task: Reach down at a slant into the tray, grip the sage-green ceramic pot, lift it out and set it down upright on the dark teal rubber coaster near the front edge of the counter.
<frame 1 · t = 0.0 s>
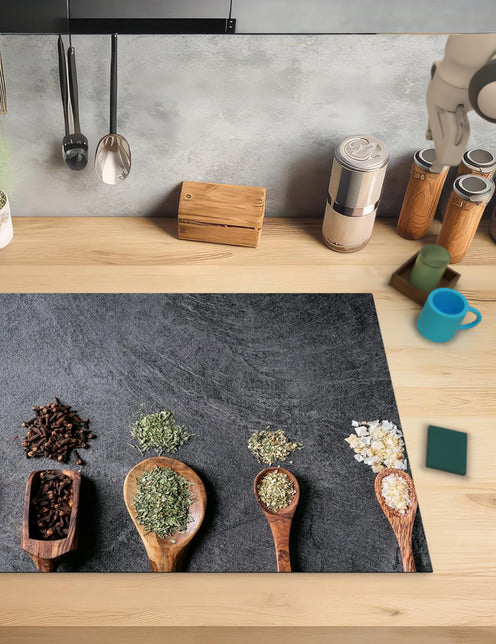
hand: (432, 153, 140), 33 cm above the counter, tool pointing down, fingers open, 8 cm apart
mug: (444, 329, 157), on the counter
tray: (421, 285, 164), on the counter
green pot: (422, 283, 164), point 1 cm above the counter, touching tray
mat: (446, 451, 139), on the counter
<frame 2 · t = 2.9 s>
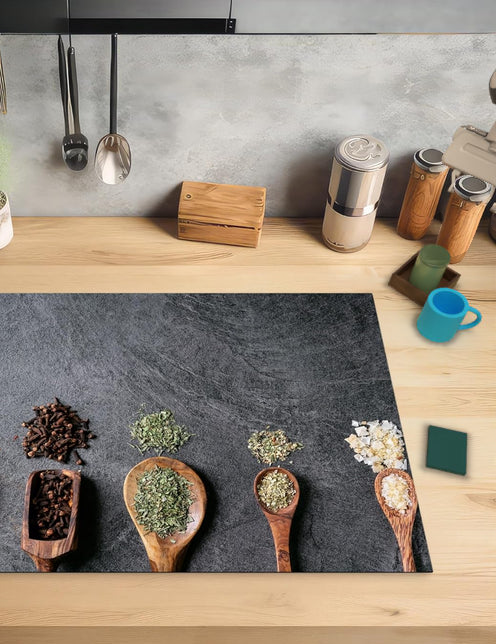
hand: (471, 202, 156), 16 cm above the counter, tool tilted 45°, fingers open, 8 cm apart
nothing on the counter moved.
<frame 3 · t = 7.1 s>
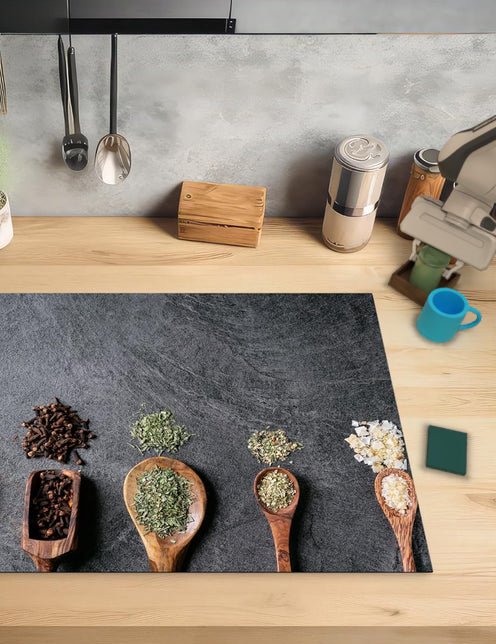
hand: (428, 269, 159), 6 cm above the counter, tool tilted 45°, fingers closed on green pot, 6 cm apart
green pot: (422, 283, 164), point 1 cm above the counter, touching tray, gripper
everything else where it was.
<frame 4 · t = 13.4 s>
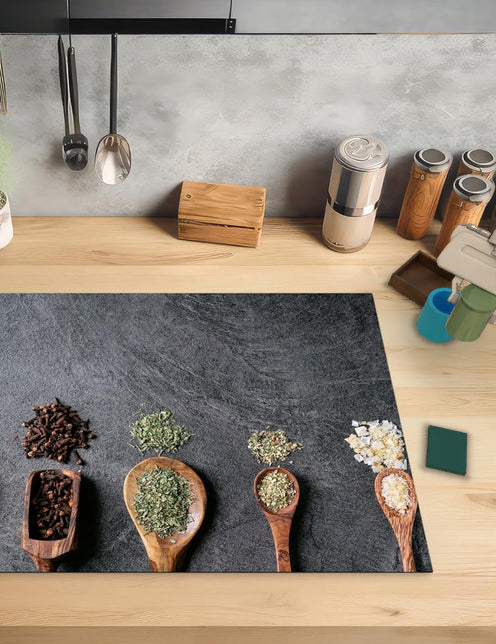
hand: (471, 313, 132), 21 cm above the counter, tool tilted 45°, fingers closed on green pot, 6 cm apart
green pot: (463, 328, 136), point 16 cm above the counter, touching gripper
everything else where it was.
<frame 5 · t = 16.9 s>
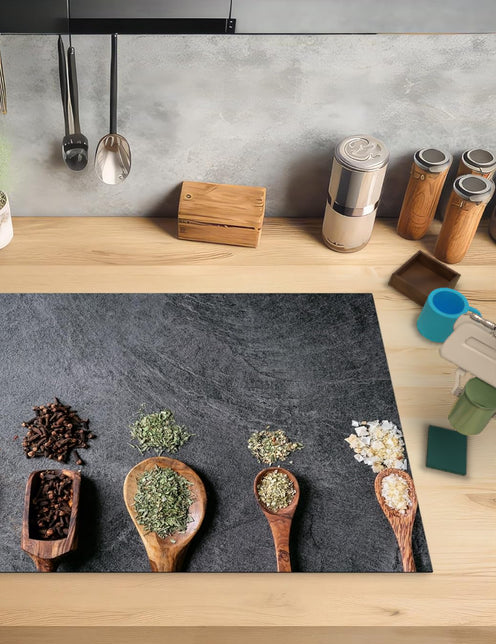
hand: (475, 407, 126), 16 cm above the counter, tool tilted 45°, fingers closed on green pot, 6 cm apart
green pot: (466, 420, 130), point 11 cm above the counter, touching gripper
everything else where it was.
when the fingers open (6 cm above the counter, at t = 20.1 s): green pot stays where it is, resting on mat.
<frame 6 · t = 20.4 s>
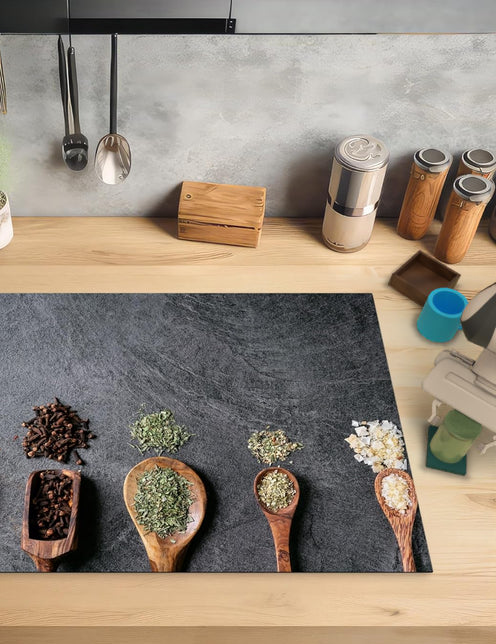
hand: (454, 437, 134), 6 cm above the counter, tool tilted 45°, fingers open, 8 cm apart
green pot: (447, 448, 139), point 1 cm above the counter, touching mat
everything else where it was.
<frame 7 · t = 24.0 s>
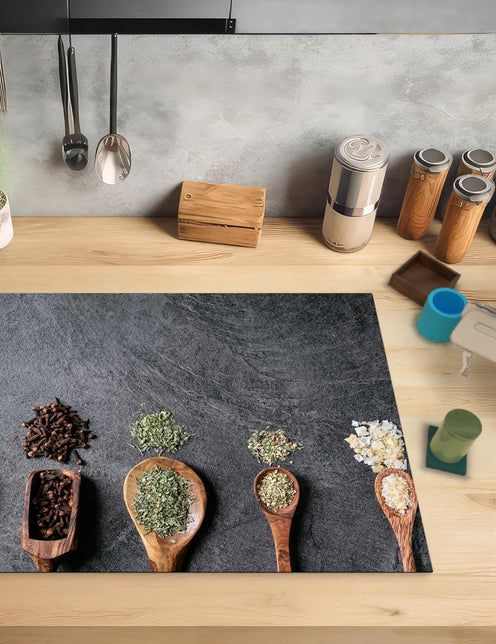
hand: (487, 387, 136), 9 cm above the counter, tool tilted 45°, fingers open, 8 cm apart
nothing on the counter moved.
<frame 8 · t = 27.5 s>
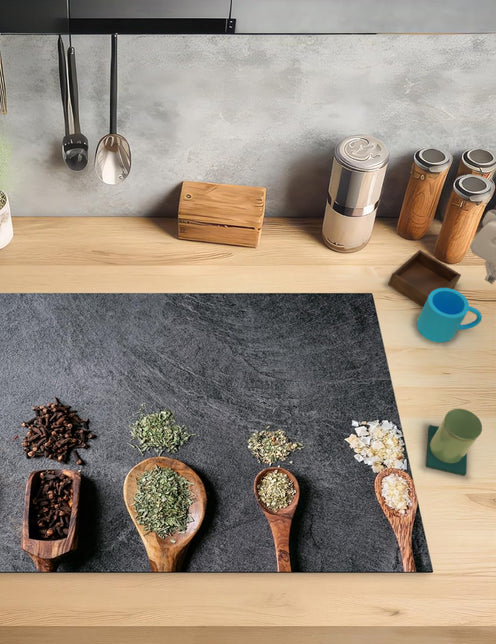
nothing on the counter moved.
at the end: green pot inside the target area on the mat (0.1 cm from its centre), point 1.0 cm above the mat's base; green pot tilted 0°; green pot touching mat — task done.
